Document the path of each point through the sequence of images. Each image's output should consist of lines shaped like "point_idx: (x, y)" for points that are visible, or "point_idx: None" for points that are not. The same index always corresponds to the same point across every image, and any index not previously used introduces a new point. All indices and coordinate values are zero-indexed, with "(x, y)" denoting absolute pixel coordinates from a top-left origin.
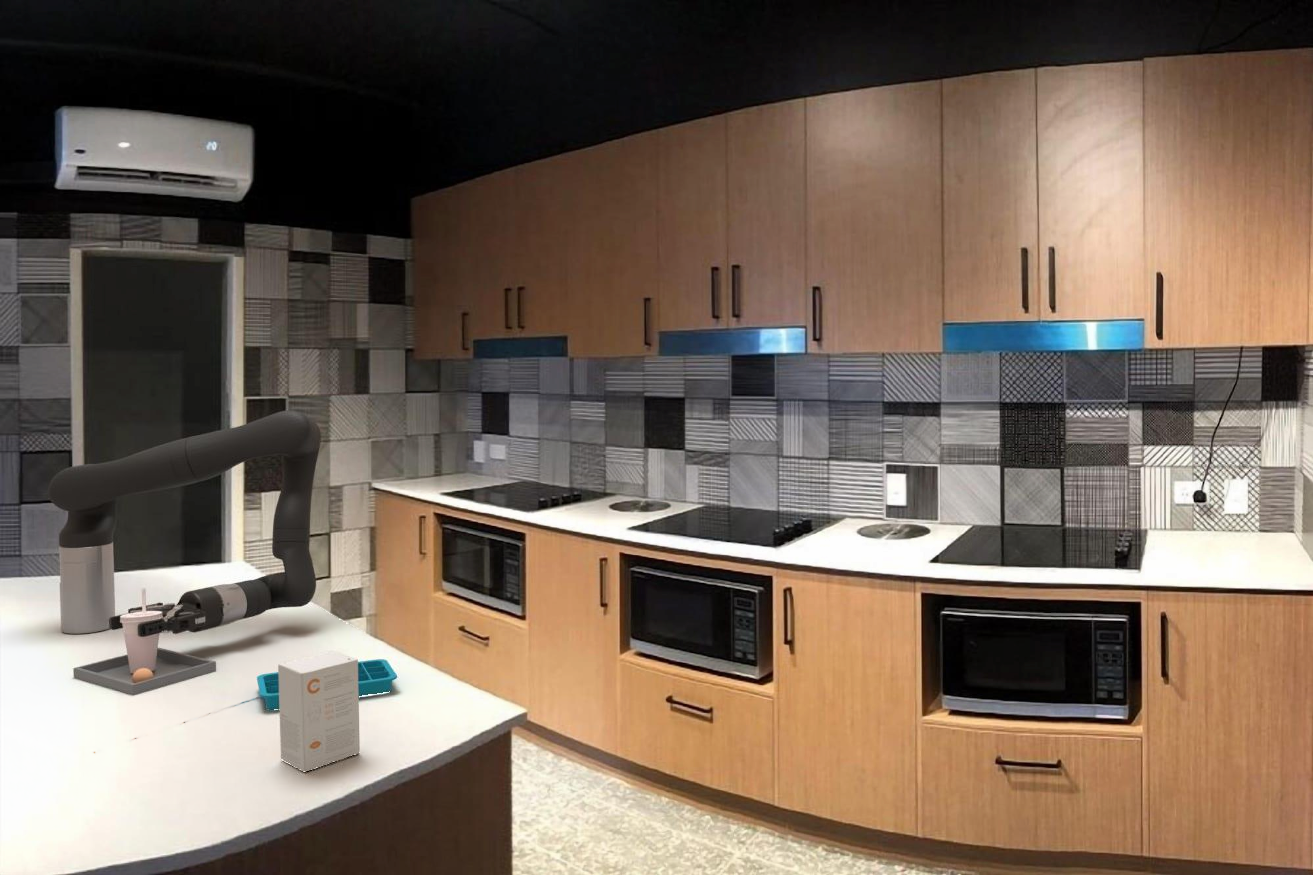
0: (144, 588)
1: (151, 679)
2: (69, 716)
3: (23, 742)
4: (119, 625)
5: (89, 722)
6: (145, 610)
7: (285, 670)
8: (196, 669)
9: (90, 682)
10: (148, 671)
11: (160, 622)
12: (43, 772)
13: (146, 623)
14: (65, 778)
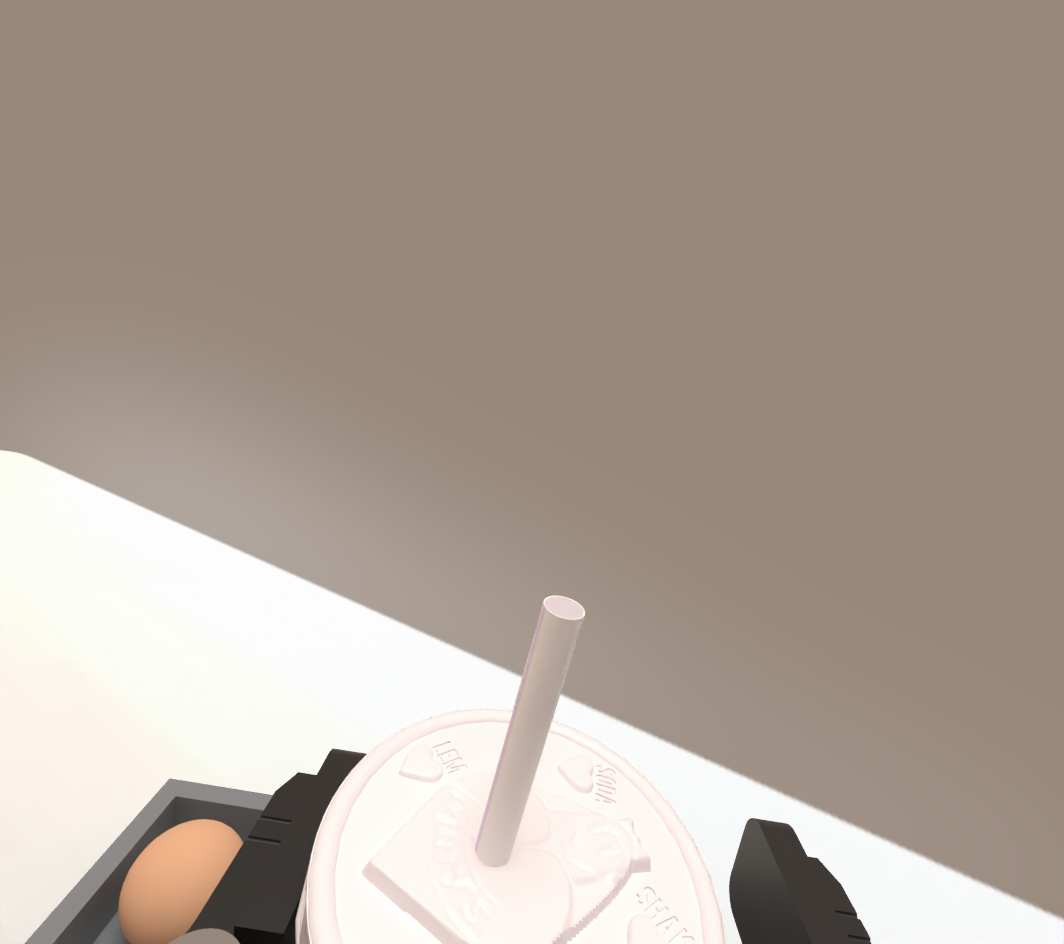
0: (547, 604)
1: (99, 867)
2: (296, 669)
3: (280, 582)
4: (754, 937)
5: (195, 654)
6: (480, 826)
7: None
8: None
9: None
10: (140, 860)
11: (233, 927)
12: (129, 531)
13: (315, 785)
14: (65, 524)
